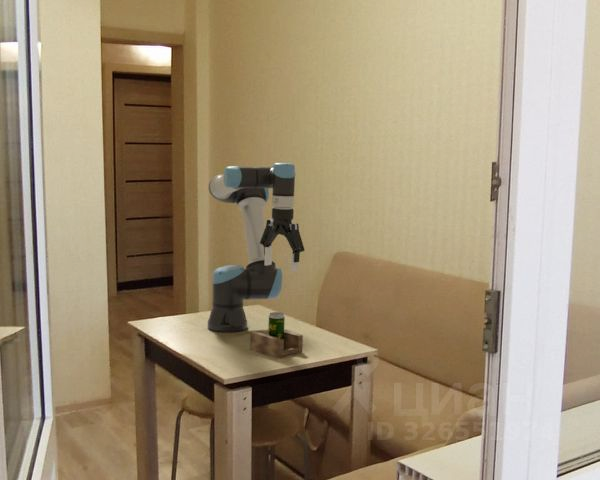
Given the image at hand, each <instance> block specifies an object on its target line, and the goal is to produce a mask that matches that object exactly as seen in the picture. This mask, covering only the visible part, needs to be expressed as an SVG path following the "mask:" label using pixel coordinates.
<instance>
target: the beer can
mask: <svg viewBox="0 0 600 480" xmlns="http://www.w3.org/2000/svg"><path fill="white" fill-rule="evenodd" d="M285 318H286V317H285V313H283V312H277V311H276V312H275V311H273V312H270V313H269V315H268V334H267V335H269V336H273V337H276V338H280V339H283V340H284V330H285V323H286V321H285Z"/></svg>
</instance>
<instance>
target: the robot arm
mask: <svg viewBox="0 0 600 480" xmlns="http://www.w3.org/2000/svg"><path fill="white" fill-rule="evenodd" d="M295 167H296V166H295V164H294V163H288V162H275V163H274V164H273V166H237V165H232V166H231V165H230V166H226V167H225V168H224V171H223V173H222V174H217V175H215V176H213V177H212V178H211V179H210V181H209V183H208V191H209V192H208V193H209V194H210V195H211V197H212V198H214V199H215V200H217V201H219V202H222V203H225V204H226V203H227V204H236V207H237V209H238V210H239V211H241V214H242V221H243V222H242V223H243V228H244V237H245V244H246V250H247V258H248V263H247V264H246V266H245V267H244V266H243V265H239V264H236V265H234V264H232V265H231V264H230V265H225V266H220V267H218V268H216V269H215V270H213V273H212V282H211V283H212V300H211V301H212V307H211V310H210V314H209V317H208V320H207V329H209V330H210V331H214V332H221V333H222V332H223V333H233V332H234V333H235V332H241V331H244V330H246V329H247V328H248V319H247V317H246V316H247V315H246V312H245V309H244V301H246V300H248V301H249V300H270V299H277V297H279V296H280V294H281V292H282V288H283V287H282V285H283V272H282V269H281V268H280V267H276V262H275V261H274V260H273V247H272V244H273V243H274V240H276V238H277V237H278V235H281V236H284V237H285V238H286V241H287V242H288V245H289V247H290V249H291V250H292V252H291V254H290V272H291V273H295V272H298V271H299V263H300V255H301V253H303V252H305V247H304V244H303V239H302V236H301V233H300V229H299V228H300V227H299V225H300V224H299V223H292V221H293V219H294V212H295V211H294V207H295V185H296V183H295V181H296V179H295V178H296V168H295ZM269 189H272V198H271V199H272V200H271V201H272V202H271V203H272V205H271V206H272V207H273V208H272V209H271V218H272V219H267V220H266V221H265V214H264V208H265V206H266V204H267V202H268V201H269V198H270V193H269V192H270V191H269Z"/></svg>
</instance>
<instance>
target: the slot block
mask: <svg viewBox="0 0 600 480" xmlns="http://www.w3.org/2000/svg"><path fill="white" fill-rule="evenodd" d="M249 335H250V338H249V340H250V342H249V343H250V344H249V345H250V349H249V350H251V351H253V352H257V353H260V354H263V355H267V356H270V357H272V358H276V359H278V360H279V359H283V358H286V357H289V356H290V357H291V356H294V355H298V354H300V353H303V342H304V341H303V337H304V335H303V334H302V333H301V334H300V333H297V332H294V331H290V330H286V329H284V340H283V339H280V338H276V337H273V336H269V335H268V334H265V333H262V332H258V331H250V334H249Z"/></svg>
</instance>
